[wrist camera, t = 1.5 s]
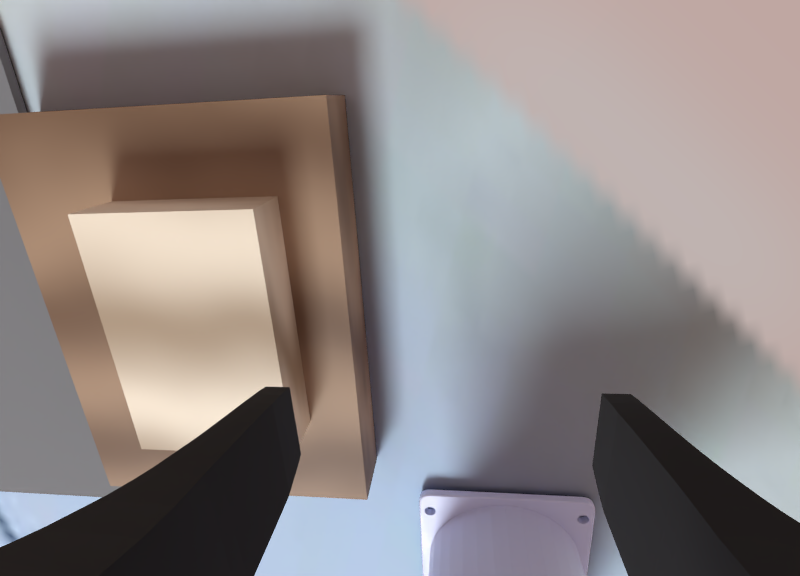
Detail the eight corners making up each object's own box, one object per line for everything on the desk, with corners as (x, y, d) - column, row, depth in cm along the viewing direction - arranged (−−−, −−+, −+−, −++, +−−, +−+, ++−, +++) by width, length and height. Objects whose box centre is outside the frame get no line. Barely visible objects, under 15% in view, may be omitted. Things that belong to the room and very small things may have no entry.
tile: (310, 420, 19) (294, 455, 17) (171, 416, 20) (141, 449, 18) (277, 196, 16) (253, 209, 14) (111, 201, 16) (67, 214, 15)
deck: (376, 458, 22) (367, 499, 20) (143, 448, 24) (110, 485, 22) (344, 95, 17) (326, 94, 14) (39, 113, 18) (-23, 115, 16)
